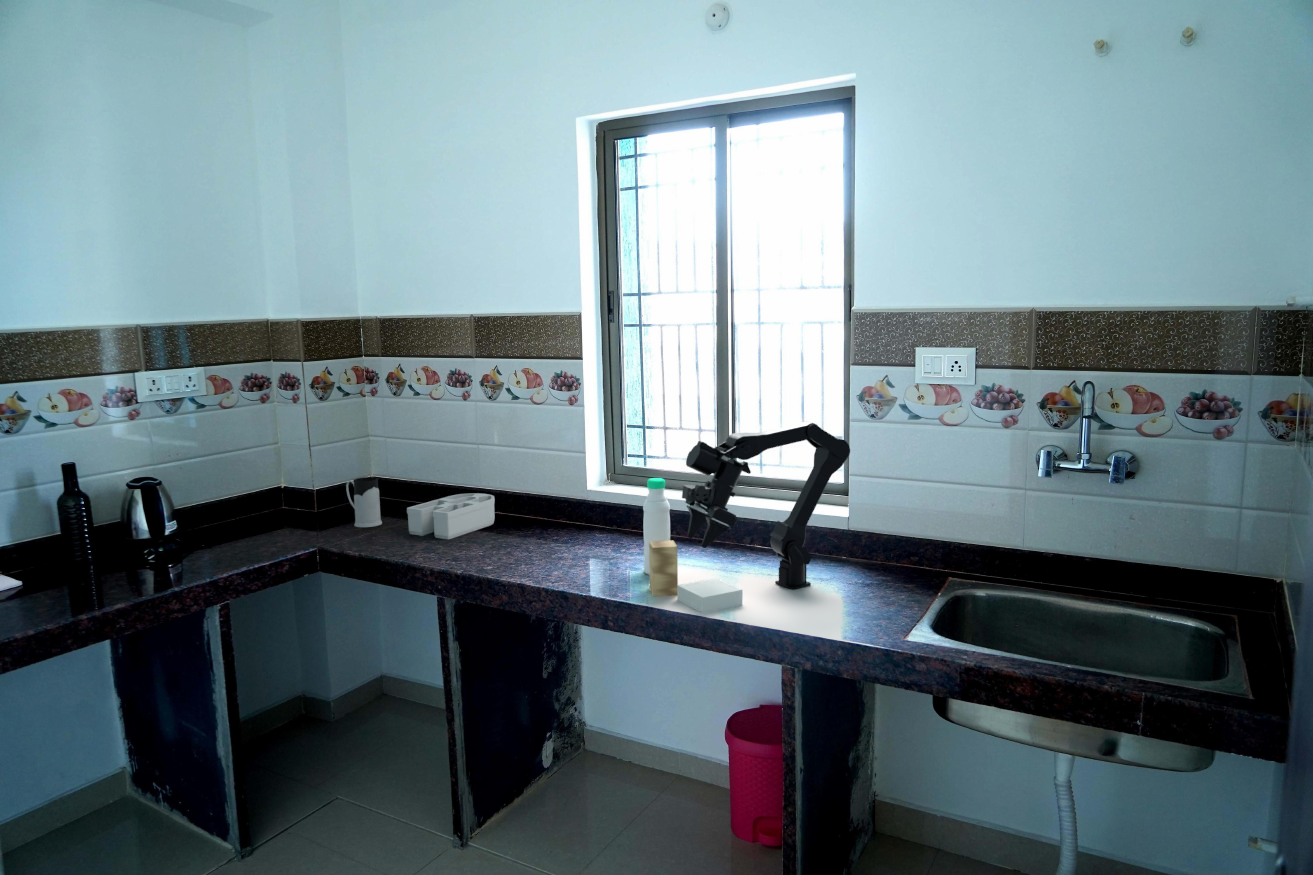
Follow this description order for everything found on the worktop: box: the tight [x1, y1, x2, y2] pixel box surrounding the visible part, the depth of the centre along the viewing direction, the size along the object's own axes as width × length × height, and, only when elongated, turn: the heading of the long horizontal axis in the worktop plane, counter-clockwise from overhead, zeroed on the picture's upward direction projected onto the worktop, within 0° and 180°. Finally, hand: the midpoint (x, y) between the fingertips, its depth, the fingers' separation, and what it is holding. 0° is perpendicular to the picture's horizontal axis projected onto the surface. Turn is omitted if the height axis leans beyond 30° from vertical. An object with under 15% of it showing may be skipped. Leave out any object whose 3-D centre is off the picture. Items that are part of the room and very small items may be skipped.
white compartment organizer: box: [406, 492, 496, 540], centre depth 283 cm, size 17×28×9 cm, turn 152°
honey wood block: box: [649, 539, 679, 597], centre depth 214 cm, size 6×6×12 cm
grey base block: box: [676, 577, 743, 614], centre depth 207 cm, size 11×11×4 cm
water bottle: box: [642, 477, 671, 576], centre depth 229 cm, size 7×7×25 cm
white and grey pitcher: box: [345, 476, 383, 528], centre depth 290 cm, size 9×14×15 cm, turn 57°
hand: (696, 542), depth 210 cm, fingers open, 9 cm apart
